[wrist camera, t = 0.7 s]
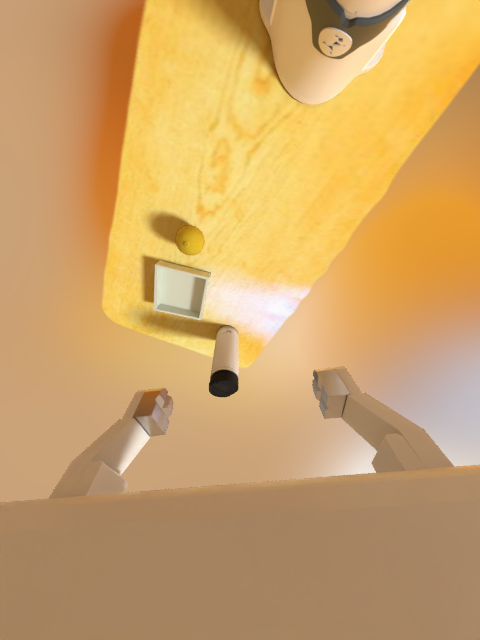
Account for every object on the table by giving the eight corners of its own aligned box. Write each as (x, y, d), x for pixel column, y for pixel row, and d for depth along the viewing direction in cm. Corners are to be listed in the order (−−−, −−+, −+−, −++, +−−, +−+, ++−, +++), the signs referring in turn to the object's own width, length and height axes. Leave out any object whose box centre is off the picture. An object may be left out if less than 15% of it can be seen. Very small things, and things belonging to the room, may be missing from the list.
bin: (160, 260, 44) (154, 264, 41) (210, 272, 46) (209, 277, 43) (158, 304, 50) (153, 310, 47) (203, 313, 52) (201, 320, 49)
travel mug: (226, 320, 53) (221, 376, 37) (242, 334, 56) (244, 391, 39) (211, 333, 56) (200, 391, 39) (227, 345, 58) (224, 404, 42)
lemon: (185, 251, 43) (176, 261, 36) (178, 225, 40) (166, 230, 33) (209, 248, 43) (204, 257, 36) (203, 221, 40) (196, 225, 33)
